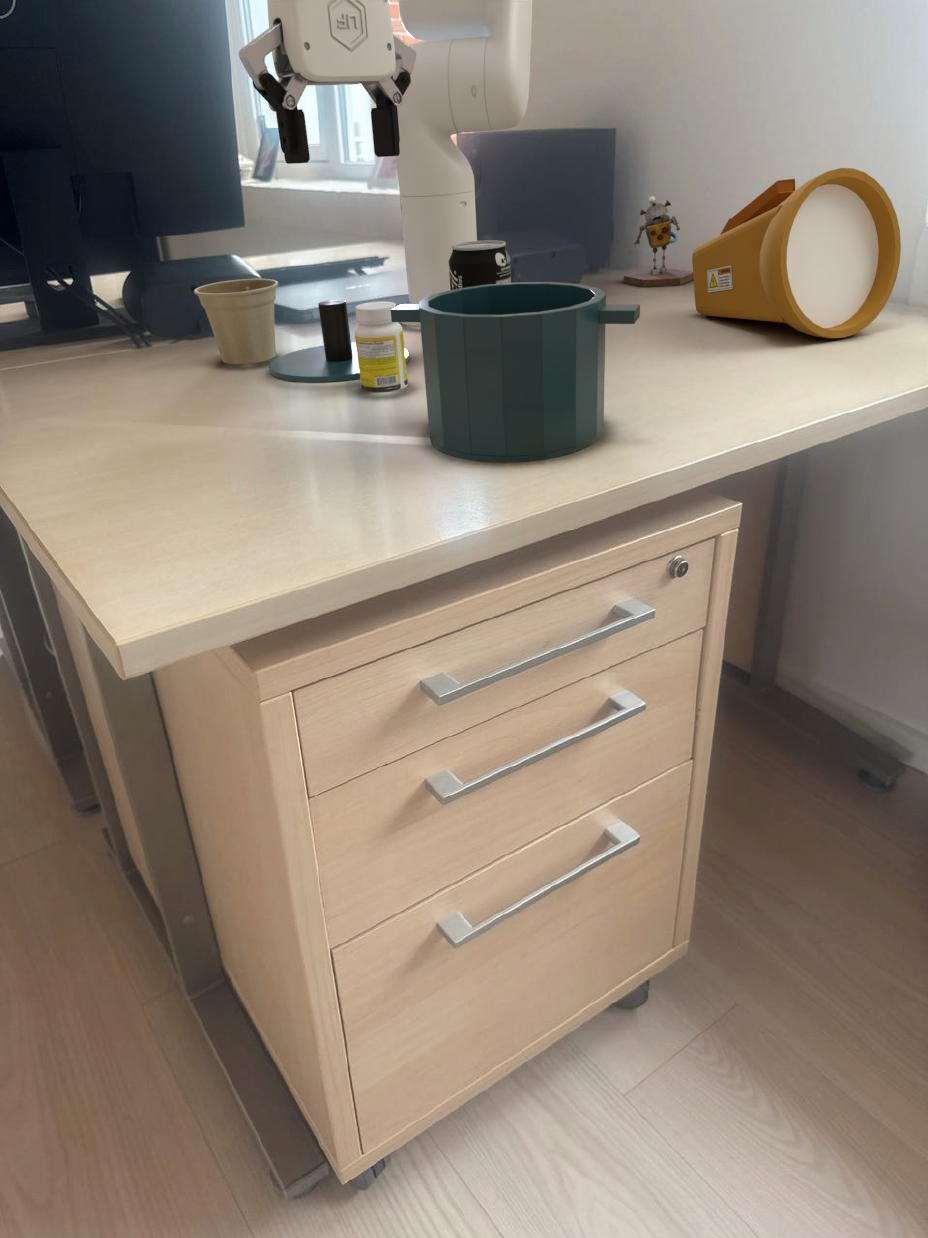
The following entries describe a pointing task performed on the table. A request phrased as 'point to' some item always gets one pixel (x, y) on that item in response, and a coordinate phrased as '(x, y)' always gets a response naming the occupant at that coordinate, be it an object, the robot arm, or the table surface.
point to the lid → (324, 351)
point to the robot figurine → (657, 236)
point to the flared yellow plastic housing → (804, 256)
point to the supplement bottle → (380, 348)
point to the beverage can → (479, 264)
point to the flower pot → (241, 318)
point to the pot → (515, 367)
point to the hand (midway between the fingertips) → (344, 159)
